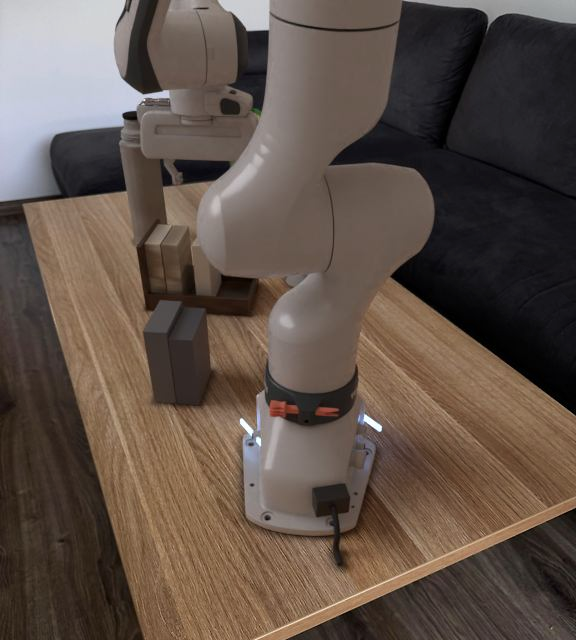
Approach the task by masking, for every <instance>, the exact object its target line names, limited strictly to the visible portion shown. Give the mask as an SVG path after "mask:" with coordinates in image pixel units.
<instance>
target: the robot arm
mask: <svg viewBox="0 0 576 640" xmlns="http://www.w3.org/2000/svg"><path fill="white" fill-rule="evenodd" d="M268 3H269V4H268V9H269V12H268V49H267V65H266V66H267V67H266V78H265V79H266V80H265V88H264V89H265V90H264V98H263V104H262V109H261V112H262V113H261V116H260V119H259V122H258V119H257V117H256V115H255V114H254V113H253V112H252V111H251V109H253V105H254V98H253V96H252V94H250V93H248V92H245V91H243V90H240V89H238V88H234V87H232V86H230V85H232V84H235V83H237V82H238V81H239V80H240V78H242V76H243V75H244V73H245V71H246V70H247V68H248V66H249V39H248V30H247V27H246V26H245V25H244V23H243V22H242V21H241V20H240V18H238V16H236V14H235V13H234V12H233V11H231V10H229V11H227V10H226V9H225V8H224V7H223V6H222V5H221V3H220V2H219V0H125V3H124V7H123V9H122V12H121V13H120V15H119V17H118V19H117V21H116V24H115V28H114V35H113V54H114V60H115V64H116V67H117V69H118V73H119V76H120V77H121V79H122V80H123V81H124V82H125V83H126V84H127V85H128V86H130V87H131V88H132V89H133V90H135V91H137V92H138V93H139V94H141V95H143V96H144V95H150V94H151V95H152V94H156V93H163V92H164V91H168V95H169V97H159V98H158V97H157V98H153V97H145V98H143V100H140V101H139V102H138V103H137V105H136V110H135V111H137V118H138V121H139V123H140V125H141V128H140V139H141V151H142V153H143V154H144V156H145V157H146V158H152V159H160V160H163V166H164V167H165V169H166V170H167V172H168V173H169V175H170V176H171V181H172V185H174V186H182V185H183V184H184V178H183V176H184V175H183V172H181V171H180V172H179V171H178V170H177V168H176V167H175V164H174V163H175V162H176V160H182V161H183V160H184V161H187V160H188V161H213V162H215V161H217V162H230V161H231V168H230V167H229V169H228V170H227V171H226V172H224V173H223V174H222V175H221V176H219V178H217V179H216V180H215V181H213V182H212V183H211V184H210V185H209V187H207V189H206V190H205V192H204V193H203V196H202V198H201V199H200V202H199V205H198V209H197V213H196V219H195V222H196V223H195V224H196V225H195V228H196V229H195V230H196V237H198V241H199V244H200V247H201V249H202V251H203V253H204V255H205V257H206V258H207V260H208V261H209V262H210V264H211V265H212V266H213V267H214V268H215V269H216V270H217V271H219V272H220V273H221V274H222V275H225V276H235V277H244V278H257V279H259V280H268V279H269V280H270V279H276V278H277V279H279V278H285V277H286V278H287V277H288V276H297V275H305V274H309V275H308V276H307V277H306V278H305V279H304V280H303V281H302V282H301V283H300V284H298V285H297V286H295V287H294V288H293V287H291V289H289V290H288V291H286V292H284V294H282V295H281V296H280V297H279V298H278V299H277V301H276V302H275V304H274V305H273V306H272V309H271V310H270V313H269V315H268V318H267V351H268V352H267V353H268V357H267V361H266V364H265V370H264V376H263V377H264V379H263V386H264V389H263V390H262V391H259V393H257V394H256V427H257V428H256V429H252V427H250V425H248V423H247V422H246V421H245V420H244V419H243V418H240V419H239V423H240V425H241V426H242V427H243V428H244V429H245V430H246V431H247V432H246V433H245V434H244V435H243V436H242V443H241V444H242V469H243V470H242V471H243V493H244V514H245V518H246V519H247V520H248V521H250V522H251V523H253V524H254V525H256V526H258V527H260V528H262V529H264V530H265V529H266V530H269V531H272V532H276V533H280V534H281V533H282V534H286V535H287V534H288V535H294V536H295V535H296V536H307V537H323V536H333V542H332V550H333V551H332V553H333V556H334V560H335V563H336V566H337V567H341V566H343V565H344V562H343V559H342V555H341V552H340V543H341V542H340V541H341V534H342V533H346V532H349V531H350V530H353V529H354V528H355V527H356V526H357V524H358V520H359V517H360V513H361V509H362V505H363V502H364V500H365V499H364V498H365V494H366V491H367V487H368V483H369V481H370V476H371V472H372V468H373V465H374V462H375V458H376V454H377V453H376V452H377V451H376V450H377V448H376V445H375V443H373V441H371V440H370V439H367V438H365V437H364V436H366V434H367V429H368V425H370V426H371V427H372V428H374V429H375V430H377V432H382V425H381V424H380V423H378V422H377V421H375V420H373V419H372V418H371V417H369V416H368V415H367V414H366V406H367V404H366V401H364V400H363V398H361V397H360V396H359V395H358V388H359V379H360V378H359V367H358V364H357V357H358V348H359V342H360V336H361V331H362V326H363V323H364V319H365V317H366V314H367V313H368V310H369V308H370V306H371V304H372V302H373V300H374V299H375V297H376V296H377V294H378V293H379V292H380V290H381V288H382V287H383V286H384V284H385V283H386V282H387V281H388V280H389V278H390V277H392V276H393V274H394V273H395V272H396V271H397V270H398V269H399V268H400V267H402V266H403V265H404V264H405V263H406V262H407V261H409V260H410V259H412V258H413V257H414V256H416V255H417V254H419V253H420V252H421V251H422V250H423V248H424V247H425V245H426V244H427V242H428V240H429V238H430V236H431V234H432V231H433V227H434V222H435V214H436V211H435V210H436V209H435V200H434V196H433V193H432V190H431V189H430V186H429V184H428V182H427V180H426V179H425V178H424V176H423V175H421V173H420V172H419V171H418V170H416V169H415V168H412V167H407V166H401V165H395V164H388V163H380V162H360V163H349V164H336V165H330V164H331V163H332V162H333V161H334V159H336V157H337V156H338V155H339V154H340V153H341V152H343V150H345V149H346V148H347V147H349V146H350V145H351V144H353V143H355V142H357V141H358V140H359V139H361V138H363V137H365V135H367V134H368V133H370V132H371V131H372V130H373V128H375V126H376V125H377V124H378V122H379V121H380V120H381V118H382V116H383V114H384V113H385V110H386V108H387V105H388V102H389V96H390V89H391V82H392V74H393V69H394V61H395V55H396V49H397V42H398V35H399V27H400V22H401V15H402V8H403V7H402V6H403V0H269V2H268ZM365 422H366V423H367V424H368V425H367V424H365Z"/></svg>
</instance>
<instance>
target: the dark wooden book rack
mask: <svg viewBox="0 0 576 640" xmlns="http://www.w3.org/2000/svg"><path fill="white" fill-rule="evenodd" d="M135 250H136V255H137V260H138V267H139V268H138V269H139V273H140V278H141V280H140V281H141V286H142V292H143V299H144V305H145V311H154V310H155V308H156V307H157V305H158V303H159V301H160V300H166V301H182V305H183V307H190V308H206V315H219V316H237V317H250V313H251V311H252V308H253V304H254V301H255V298H256V295H257V291H258V287H259V284H260V282H259V280H260V279H257V278H244V277H235V276H225V275H222V274H221V282H222V283H221V285H220V287H219V290H218V292H217V295H216V296H201V295H196V286H195V275H194V265H193V255H192V243H191V233H190V226H189V225H177V224H175V225H174V224H168V225H161V222H160V219H156V220H155V222H154V223H153V225H152V226H151V227H150V229H149V230H148V232H147V233H146V234H145V236H144V237H143V238H142V240H141V241H140V243H139V244H138V245H137V244H136V247H135Z"/></svg>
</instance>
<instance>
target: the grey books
mask: <svg viewBox="0 0 576 640" xmlns="http://www.w3.org/2000/svg"><path fill="white" fill-rule="evenodd" d="M142 335H143V341H144V348H145V353H146V359H147V366H148V371H149V377H150V383H151V390H152V395H153V401H154V403H161V404H162V403H163V404H177V405H188V406H189V405H190V406H200V405H201V402H202V399H203V396H204V393H205V391H206V387H207V385H208V382H209V379H210V376H211V373H212V361H211V352H210V341H209V340H210V339H209V329H208V318H207V314H206V308H190V307H183V305H182V301H166V300H160V301H159V303H158V305H157V307H156V308H155V310H153V312H152V314H151V315H150V317H149V319H148V321H147V323H146V324H145V326H144V328H143V330H142Z"/></svg>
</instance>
